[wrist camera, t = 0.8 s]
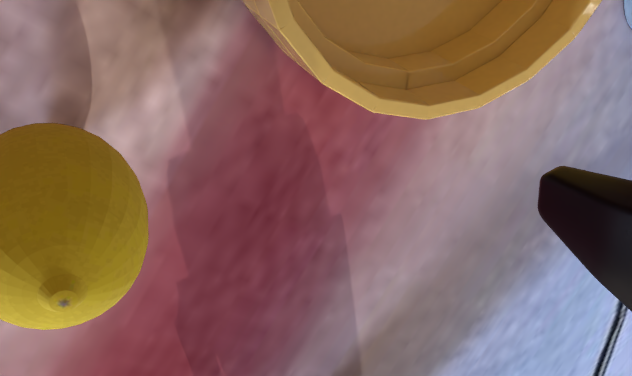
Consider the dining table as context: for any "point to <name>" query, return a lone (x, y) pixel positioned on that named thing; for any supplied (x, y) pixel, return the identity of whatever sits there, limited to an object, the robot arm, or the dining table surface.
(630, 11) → the blue tumbler
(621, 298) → the robot arm
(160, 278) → the dining table surface
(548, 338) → the dining table surface
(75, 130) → the lemon
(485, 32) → the bowl
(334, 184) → the dining table surface
